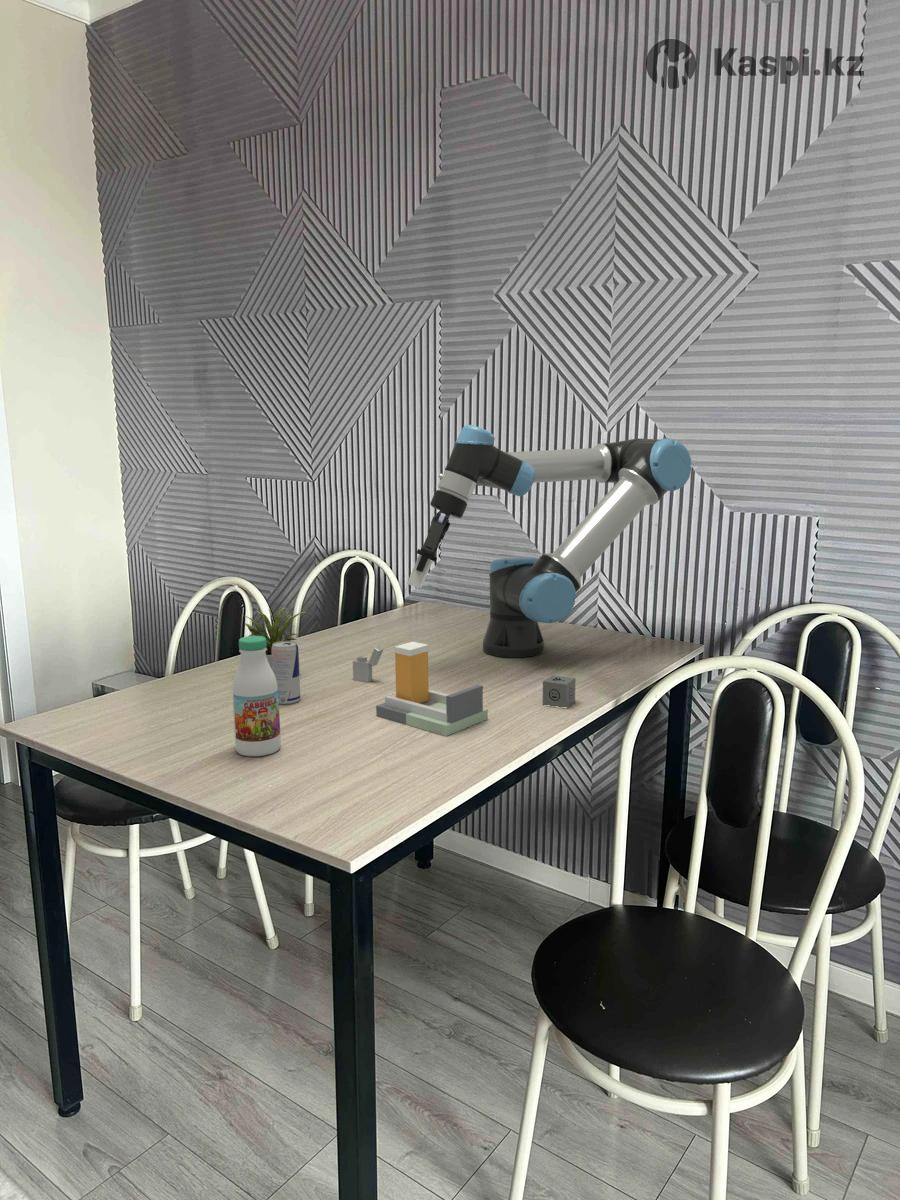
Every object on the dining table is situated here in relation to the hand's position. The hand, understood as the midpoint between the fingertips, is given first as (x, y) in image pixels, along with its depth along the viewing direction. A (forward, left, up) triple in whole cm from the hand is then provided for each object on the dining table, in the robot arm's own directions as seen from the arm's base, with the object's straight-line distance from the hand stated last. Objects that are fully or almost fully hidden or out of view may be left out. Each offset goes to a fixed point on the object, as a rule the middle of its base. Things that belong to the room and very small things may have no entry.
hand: (414, 585), depth 193 cm
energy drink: (+29, +6, -21) cm, 37 cm away
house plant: (+28, -12, -21) cm, 37 cm away
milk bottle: (+38, +32, -21) cm, 54 cm away
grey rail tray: (+5, +26, -21) cm, 34 cm away
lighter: (+10, -2, -21) cm, 24 cm away
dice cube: (-22, +27, -21) cm, 41 cm away
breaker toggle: (+7, +22, -19) cm, 30 cm away
